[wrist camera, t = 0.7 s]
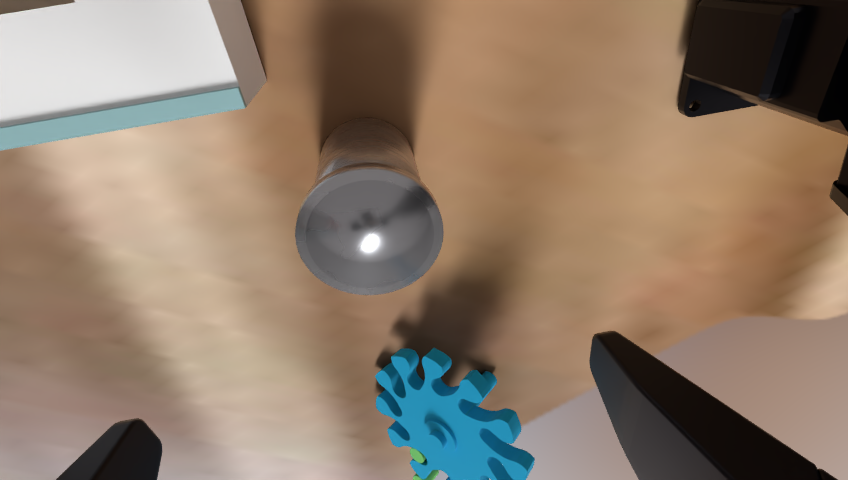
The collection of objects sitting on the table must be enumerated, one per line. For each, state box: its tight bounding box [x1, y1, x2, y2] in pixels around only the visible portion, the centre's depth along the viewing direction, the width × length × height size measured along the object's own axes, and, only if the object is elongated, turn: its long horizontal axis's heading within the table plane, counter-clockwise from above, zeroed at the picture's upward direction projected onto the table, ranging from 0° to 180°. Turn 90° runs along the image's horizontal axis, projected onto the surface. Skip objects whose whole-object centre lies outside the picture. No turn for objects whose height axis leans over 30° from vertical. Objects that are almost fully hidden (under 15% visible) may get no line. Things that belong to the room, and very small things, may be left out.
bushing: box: [295, 118, 443, 295], centre depth 16 cm, size 5×5×6 cm
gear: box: [375, 348, 535, 480], centre depth 25 cm, size 11×6×10 cm
